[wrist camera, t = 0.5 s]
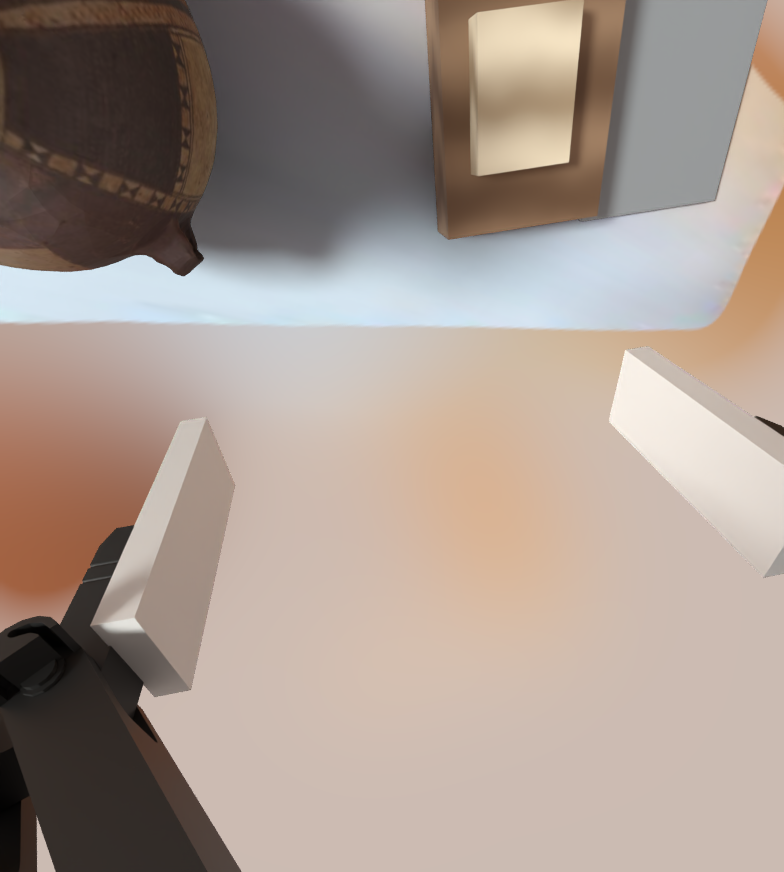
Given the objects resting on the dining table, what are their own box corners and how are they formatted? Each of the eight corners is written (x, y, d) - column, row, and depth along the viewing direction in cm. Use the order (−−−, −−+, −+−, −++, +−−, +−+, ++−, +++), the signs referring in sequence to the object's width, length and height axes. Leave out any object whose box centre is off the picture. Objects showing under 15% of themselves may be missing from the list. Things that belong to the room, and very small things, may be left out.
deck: (422, -53, 30) (434, -77, 27) (604, -77, 31) (639, -102, 28) (437, 231, 40) (448, 239, 37) (574, 209, 41) (597, 215, 38)
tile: (468, 19, 30) (477, 12, 28) (569, 5, 30) (584, -2, 28) (470, 174, 35) (478, 176, 33) (557, 161, 35) (568, 162, 33)
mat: (614, -99, 30) (619, -103, 30) (792, -121, 31) (800, -125, 30) (578, 220, 42) (581, 221, 41) (709, 199, 42) (714, 200, 42)
